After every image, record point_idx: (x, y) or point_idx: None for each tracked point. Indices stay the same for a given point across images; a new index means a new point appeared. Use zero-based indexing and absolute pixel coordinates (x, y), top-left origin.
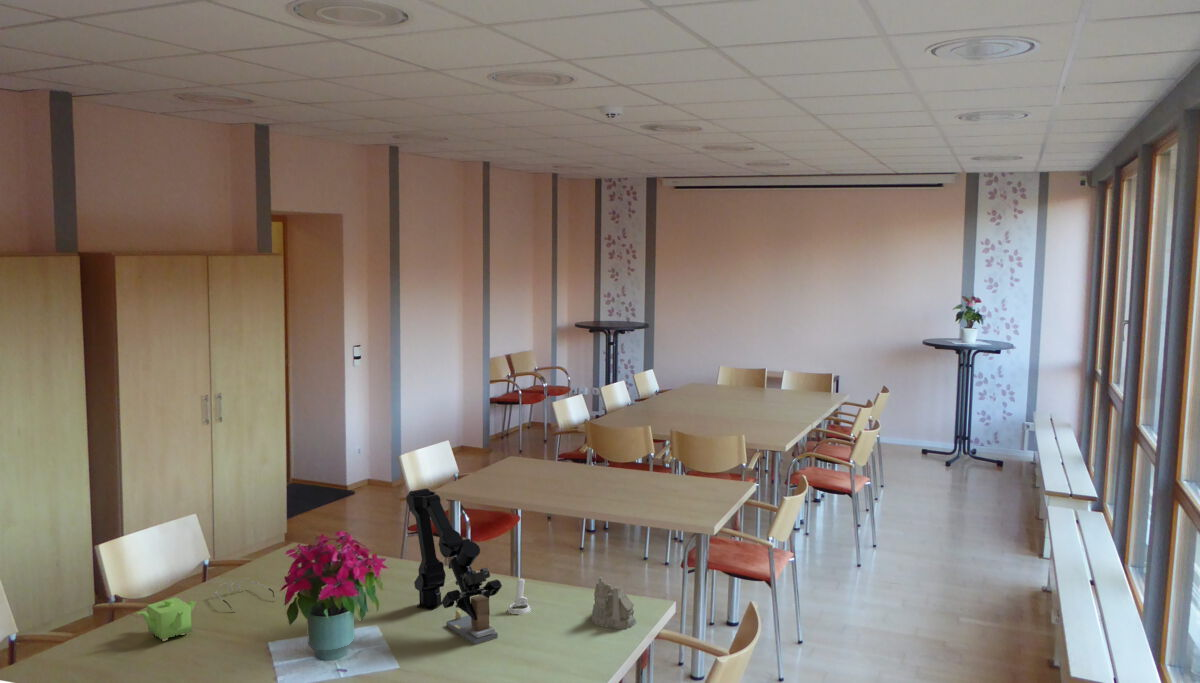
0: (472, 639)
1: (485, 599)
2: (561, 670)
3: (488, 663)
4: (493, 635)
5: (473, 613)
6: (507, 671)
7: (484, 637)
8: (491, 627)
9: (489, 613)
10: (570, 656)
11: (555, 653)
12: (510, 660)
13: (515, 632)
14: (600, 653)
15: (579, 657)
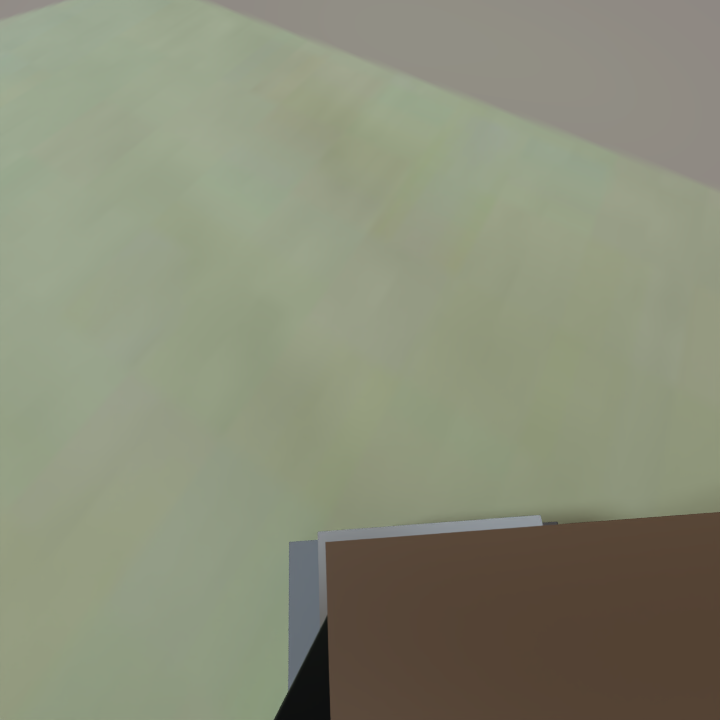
0: None
1: (485, 532)
2: (260, 41)
3: (539, 216)
4: None
5: None
6: (476, 116)
7: None
8: (324, 601)
9: (323, 623)
10: (130, 103)
11: (158, 150)
12: (407, 191)
13: (98, 560)
14: (10, 73)
15: (109, 82)
